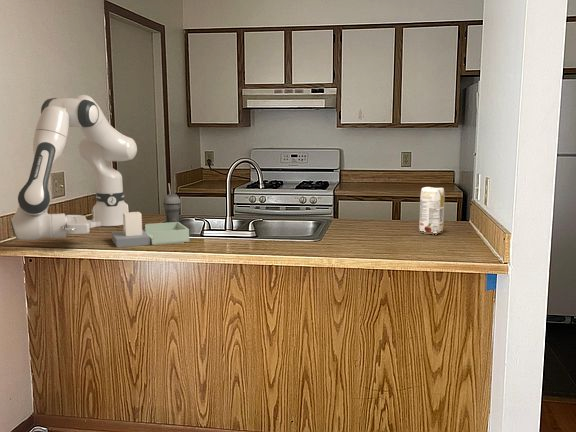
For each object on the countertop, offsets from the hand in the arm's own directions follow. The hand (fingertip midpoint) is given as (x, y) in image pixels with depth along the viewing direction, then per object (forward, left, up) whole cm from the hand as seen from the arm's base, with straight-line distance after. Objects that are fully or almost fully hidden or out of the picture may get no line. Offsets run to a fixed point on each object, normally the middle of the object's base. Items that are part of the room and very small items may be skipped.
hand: (100, 223), depth 219 cm
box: (0, +24, -8) cm, 25 cm away
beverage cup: (-18, +31, -8) cm, 36 cm away
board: (0, +11, -8) cm, 13 cm away
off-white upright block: (0, +12, -5) cm, 13 cm away
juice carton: (+30, +127, -8) cm, 130 cm away
